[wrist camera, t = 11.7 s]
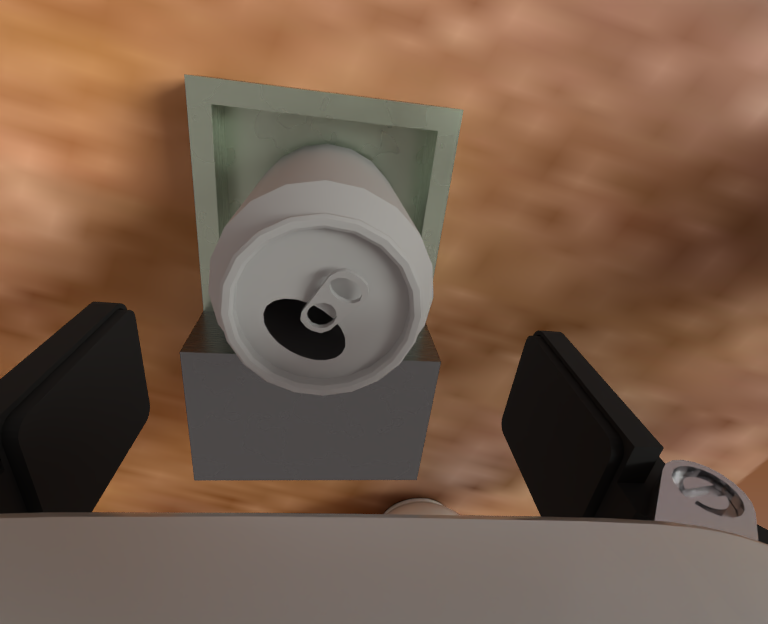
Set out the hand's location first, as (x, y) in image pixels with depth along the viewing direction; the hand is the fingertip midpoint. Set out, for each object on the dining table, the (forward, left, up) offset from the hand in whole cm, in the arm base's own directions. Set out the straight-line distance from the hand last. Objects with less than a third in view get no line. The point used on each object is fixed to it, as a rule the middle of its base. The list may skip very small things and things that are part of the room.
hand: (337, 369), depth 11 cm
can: (0, 0, -15) cm, 15 cm away
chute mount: (+1, +4, -15) cm, 16 cm away
